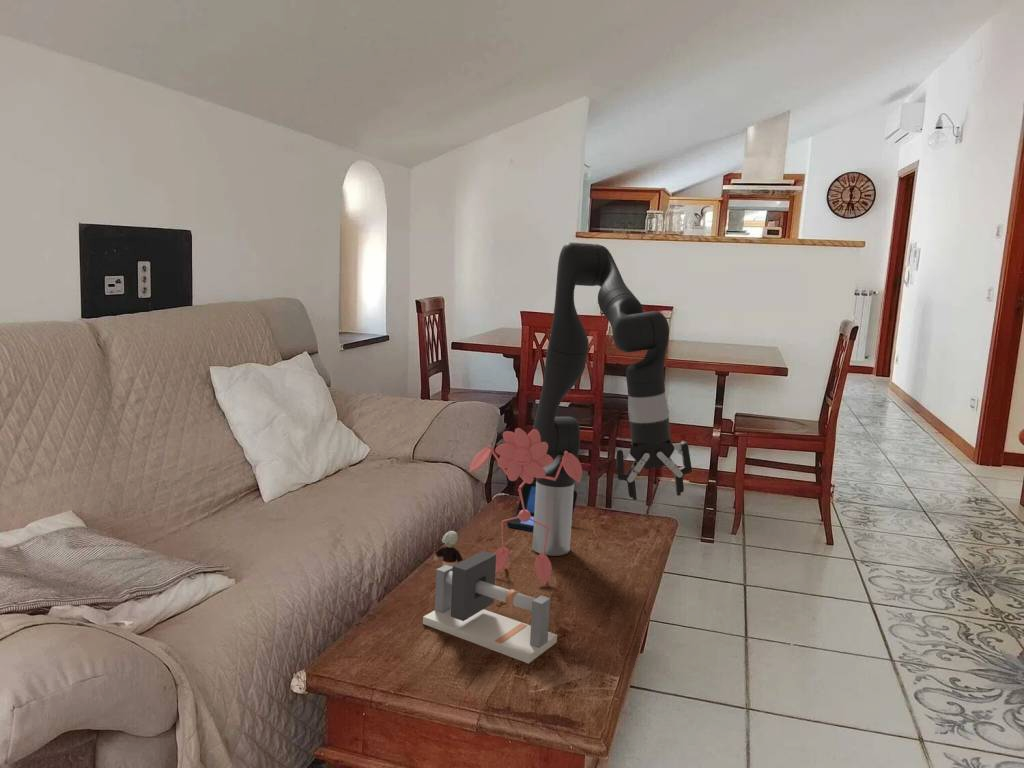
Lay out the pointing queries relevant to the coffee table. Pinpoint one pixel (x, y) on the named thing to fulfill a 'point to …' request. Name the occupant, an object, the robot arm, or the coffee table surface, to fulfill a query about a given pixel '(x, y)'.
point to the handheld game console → (530, 507)
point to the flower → (526, 479)
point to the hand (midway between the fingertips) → (656, 496)
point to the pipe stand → (494, 620)
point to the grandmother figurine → (449, 550)
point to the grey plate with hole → (471, 585)
